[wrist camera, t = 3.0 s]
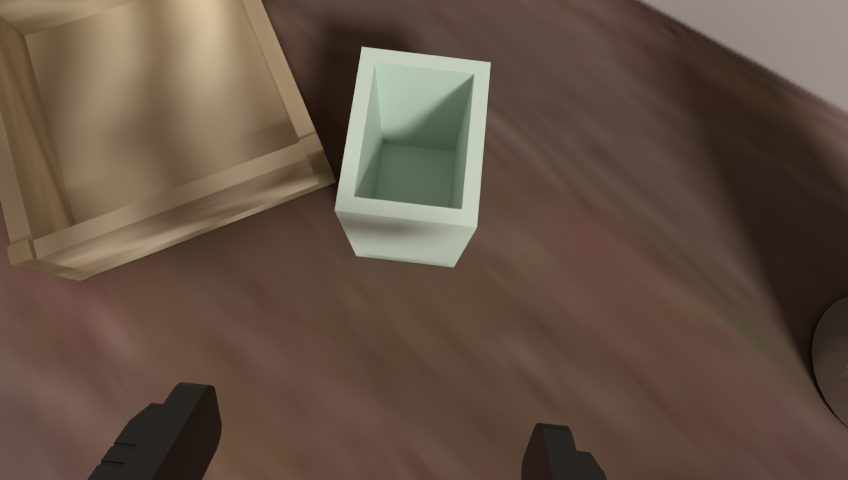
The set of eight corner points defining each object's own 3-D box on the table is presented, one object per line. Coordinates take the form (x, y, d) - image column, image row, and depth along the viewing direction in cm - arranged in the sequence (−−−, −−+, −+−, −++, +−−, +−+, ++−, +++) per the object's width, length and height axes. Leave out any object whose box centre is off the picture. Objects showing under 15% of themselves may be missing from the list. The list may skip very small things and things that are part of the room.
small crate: (464, 148, 29) (490, 62, 21) (453, 267, 27) (476, 227, 19) (374, 137, 29) (362, 46, 21) (356, 255, 27) (334, 210, 19)
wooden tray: (246, -34, 32) (219, -99, 28) (336, 182, 28) (323, 149, 24) (15, 37, 30) (-57, -21, 25) (80, 280, 26) (10, 265, 22)
